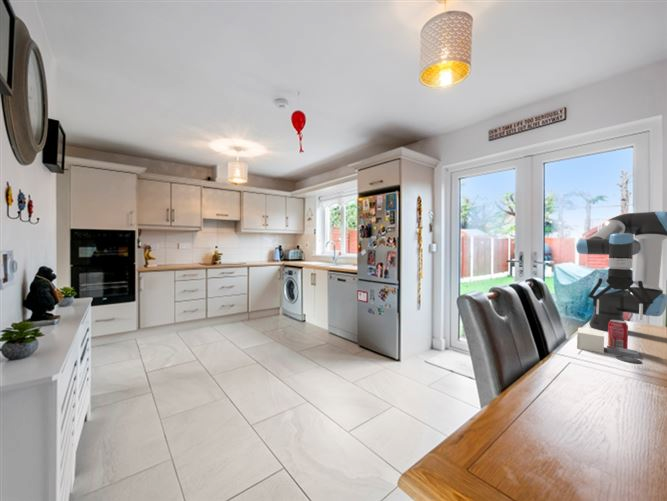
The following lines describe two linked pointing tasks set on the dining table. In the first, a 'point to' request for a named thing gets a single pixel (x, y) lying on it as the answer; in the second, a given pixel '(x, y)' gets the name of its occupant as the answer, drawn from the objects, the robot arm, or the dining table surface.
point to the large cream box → (590, 340)
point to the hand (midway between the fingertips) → (618, 316)
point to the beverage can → (618, 334)
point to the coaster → (628, 359)
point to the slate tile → (622, 351)
